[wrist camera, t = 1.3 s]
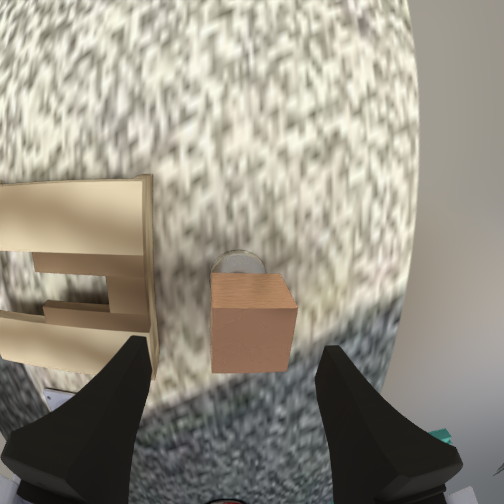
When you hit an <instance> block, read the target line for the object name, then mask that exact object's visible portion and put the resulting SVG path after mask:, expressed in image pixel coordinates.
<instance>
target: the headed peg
mask: <svg viewBox="0 0 504 504" xmlns="http://www.w3.org/2000/svg"><path fill="white" fill-rule="evenodd" d="M210 288H211V302H210V345H211V368H212V373H261V372H282V371H287V367H288V362H289V356H290V351H291V345H292V340H293V334H294V328H295V323H296V317H297V311H298V307H297V305H296V303H295V301H294V299H293V298H292V296H291V294H290V292H289V290H288V288H287V286H286V284H285V282H284V280H283V278H282V276H281V274H267V272H266V270H265V267H264V265H263V263H262V261H261V260H260V259H259V258H258V257H257V256H256V255H254V254H253V253H251V252H248V251H245V250H232V251H229V252H226V253H224V254H222V255H221V256H220V257H218V258H217V259H216V261H215V262H214V263H213V265H212V267H211V270H210Z"/></svg>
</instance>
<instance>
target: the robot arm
mask: <svg viewBox="0 0 504 504" xmlns="http://www.w3.org/2000/svg"><path fill="white" fill-rule="evenodd" d="M151 376H152V366H151V360H150V355H149V350H148V344H147V338H146V337H145V336H137V335H132V336H130V337H129V339H128V340H127V341H126V342H125V343H124V345H123V346H122V347H121V348H120V349H119V350H118V352H117V353H116V354H115V355H114V356H113V357H112V359H111V360H110V361H109V362H108V363H107V364H106V365H105V366H104V367H103V368H102V370H101V371H100V372H99V373H98V374H97V375H96V376H95V377H94V378H93V379H92V380H91V381H90V382H89V383H88V384H86V385H85V386H84V387H83V388H82V389H81V390H80V391H79V392H77V393H76V394H73V393H67V392H61V391H56V390H51V389H45V390H44V392H43V393H44V395H45V398H46V400H47V402H48V404H49V407H50V409H51V411H52V412H50V413H48V414H47V415H45V416H43V417H42V418H40V419H38V420H36V421H35V422H33V423H31V424H28V425H26V426H24V427H22V428H19V429H17V430H15V431H12V432H11V434H10V436H9V437H8V440H7V442H6V444H5V447H4V449H3V452H2V454H1V460H2V462H3V463H4V464H5V465H6V466H7V467H8V468H9V469H10V470H11V471H12V472H13V473H14V476H13V479H12V480H11V479H8V478H6V477H5V476H3V475H1V474H0V504H128V495H129V481H130V471H131V463H132V455H133V449H134V442H135V438H136V434H137V430H138V427H139V423H140V420H141V416H142V413H143V410H144V406H145V403H146V399H147V396H148V393H149V388H150V382H151ZM315 386H316V395H317V401H318V405H319V409H320V413H321V417H322V421H323V425H324V429H325V433H326V437H327V441H328V446H329V452H330V460H331V470H332V482H333V501H334V504H478V502H477V500H476V497H475V494H474V492H473V489H472V487H471V486H469V487H467V488H464V489H462V490H460V491H458V492H455V493H453V494H451V495H449V496H447V497H444V494H443V492H445V491H446V486H445V483H446V482H447V481H448V480H449V479H451V478H452V477H453V476H455V475H456V474H457V473H458V472H459V471H460V470H461V468H462V467H463V463H462V460H461V458H460V455H459V453H458V451H457V449H456V447H454V446H452V445H450V444H448V443H446V442H444V441H442V440H440V439H438V438H436V437H434V436H432V435H431V434H429V433H427V432H426V431H424V430H422V429H421V428H419V427H418V426H416V425H415V424H414V423H412V422H411V421H409V420H408V419H407V418H405V417H404V416H403V415H402V414H400V413H399V412H398V411H397V410H396V409H394V408H393V407H392V406H391V405H390V404H389V403H388V402H387V401H386V400H385V399H384V398H383V397H382V396H381V395H380V394H379V393H378V392H377V391H376V390H375V389H374V388H373V387H372V385H371V384H370V383H369V382H368V381H367V380H366V378H365V377H364V376H363V375H362V374H361V373H360V371H359V370H358V369H357V368H356V366H355V365H354V364H353V363H352V361H351V360H350V359H349V357H348V356H347V355H346V354H345V352H344V351H343V350H342V348H341V347H340V346H339V345H334V346H325V347H324V351H323V354H322V357H321V360H320V363H319V366H318V369H317V373H316V376H315Z"/></svg>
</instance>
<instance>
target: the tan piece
mask: <svg viewBox="0 0 504 504" xmlns="http://www.w3.org/2000/svg"><path fill="white" fill-rule="evenodd" d="M152 189H153V174H141V175H139V176H137V177H135V178H133V179H94V180H65V181H45V182H29V183H15V184H3V185H2V181H0V251H25V252H32V255H33V262H34V268H35V272H44V273H60V274H78V275H98V276H106V283H107V291H108V299H109V305H104V304H90V303H77V302H64V301H53V300H48V301H47V302H46V303H45V304H44V306H43V311H44V315H45V316H40V315H32V314H24V313H17V312H10V311H3V310H0V354H1V356H2V359H6V360H10V361H15V362H20V363H24V364H29V365H34V366H40V367H45V368H51V369H57V370H63V371H70V372H77V373H84V374H92V375H97V374H98V373H99V372H100V371H101V370H102V368H103V367H104V366H105V365H106V364H107V363H108V362H109V361H110V360H111V359H112V357H113V356H114V355H115V354H116V353H117V352H118V350H119V349H120V348H121V347H122V346H123V345H124V343H125V342H126V341H127V340H128V339H129V337H130V336H132V335H137V336H145V337H146V338H147V344H148V350H149V355H150V360H151V366H152V376H151V380H155V378H156V372H157V366H158V360H159V354H160V350H159V340H158V329H157V317H156V303H155V287H154V266H153V230H152Z"/></svg>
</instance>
